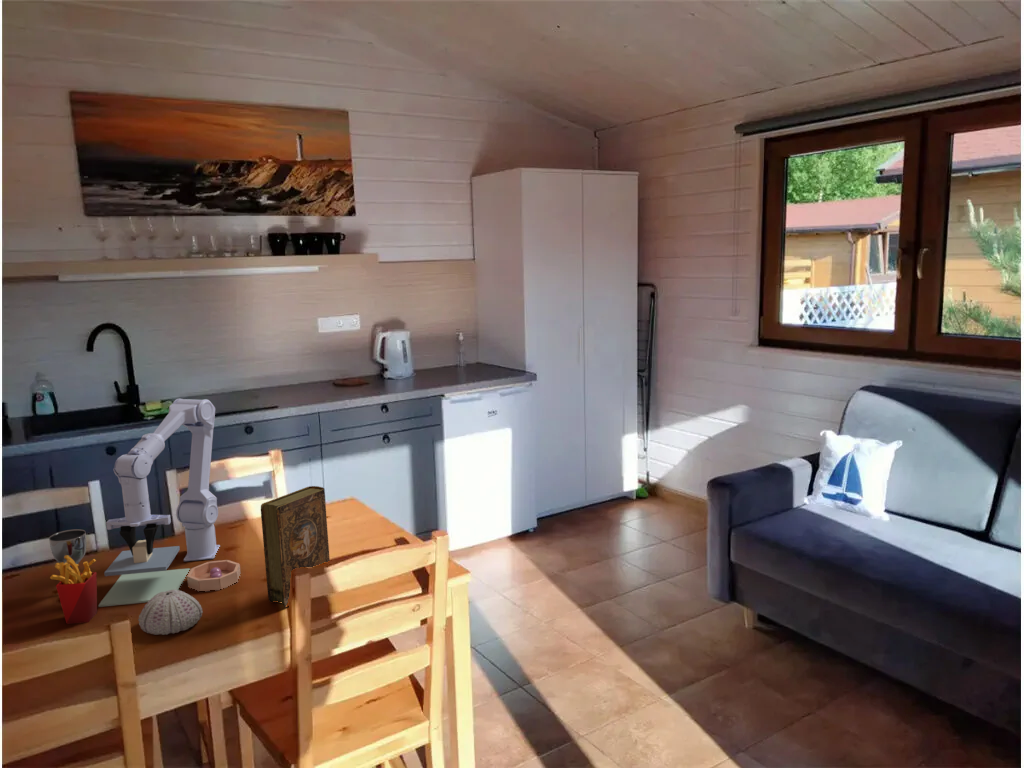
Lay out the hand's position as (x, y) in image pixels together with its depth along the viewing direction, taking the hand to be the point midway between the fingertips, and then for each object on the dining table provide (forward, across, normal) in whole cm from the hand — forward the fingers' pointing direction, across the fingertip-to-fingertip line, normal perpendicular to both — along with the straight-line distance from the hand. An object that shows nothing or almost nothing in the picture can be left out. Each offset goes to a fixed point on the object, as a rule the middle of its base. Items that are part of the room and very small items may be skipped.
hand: (142, 553), depth 195 cm
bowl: (+9, +16, 0) cm, 19 cm away
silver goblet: (+9, -18, +2) cm, 20 cm away
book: (+9, +40, -13) cm, 43 cm away
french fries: (+9, -12, -15) cm, 21 cm away
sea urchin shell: (+10, +12, -23) cm, 27 cm away
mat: (+9, 0, 0) cm, 9 cm away
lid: (+2, 0, 0) cm, 2 cm away
